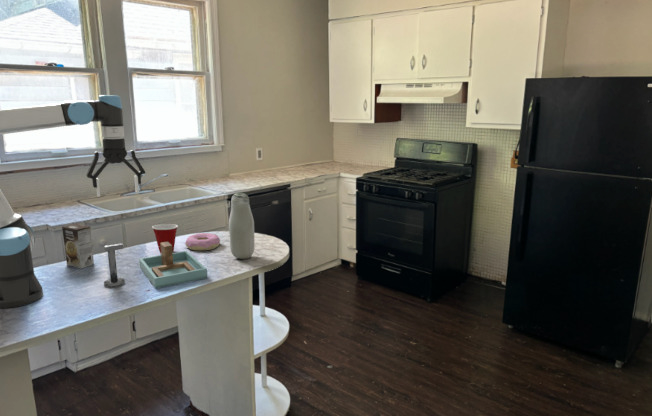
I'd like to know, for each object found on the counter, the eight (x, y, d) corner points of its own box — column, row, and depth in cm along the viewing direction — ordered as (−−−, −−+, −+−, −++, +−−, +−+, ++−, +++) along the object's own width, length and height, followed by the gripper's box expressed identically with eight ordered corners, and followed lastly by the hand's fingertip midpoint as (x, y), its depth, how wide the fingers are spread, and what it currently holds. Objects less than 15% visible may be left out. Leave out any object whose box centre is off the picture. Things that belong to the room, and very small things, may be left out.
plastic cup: (183, 248, 215) (182, 222, 213) (173, 256, 205) (171, 229, 202) (160, 247, 216) (158, 221, 214) (149, 255, 206) (147, 228, 203)
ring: (161, 282, 174) (159, 259, 172) (148, 266, 190) (146, 244, 188) (197, 275, 181) (196, 252, 179) (182, 260, 197) (181, 239, 195)
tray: (155, 288, 171) (154, 278, 170) (139, 267, 191) (139, 258, 190) (207, 278, 181) (206, 268, 180) (187, 259, 201) (186, 250, 200)
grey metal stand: (105, 289, 170) (101, 249, 167) (102, 282, 176) (98, 244, 172) (128, 284, 174) (124, 246, 171) (124, 278, 180) (120, 241, 176)
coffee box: (65, 265, 194) (61, 226, 190) (80, 260, 199) (76, 222, 195) (80, 268, 189) (76, 229, 186) (95, 264, 195) (90, 225, 191)
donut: (196, 254, 208) (195, 243, 207) (179, 246, 218) (178, 236, 217) (227, 247, 218) (226, 236, 217) (209, 240, 229) (209, 230, 228)
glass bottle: (258, 255, 207) (256, 191, 201) (248, 262, 197) (246, 196, 191) (236, 253, 209) (234, 190, 203) (226, 260, 200) (223, 195, 193)
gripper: (76, 139, 167) (83, 199, 172) (150, 137, 180) (154, 192, 185) (74, 138, 173) (80, 195, 178) (146, 136, 186) (150, 189, 191)
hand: (118, 194), depth 182 cm, fingers open, 13 cm apart
